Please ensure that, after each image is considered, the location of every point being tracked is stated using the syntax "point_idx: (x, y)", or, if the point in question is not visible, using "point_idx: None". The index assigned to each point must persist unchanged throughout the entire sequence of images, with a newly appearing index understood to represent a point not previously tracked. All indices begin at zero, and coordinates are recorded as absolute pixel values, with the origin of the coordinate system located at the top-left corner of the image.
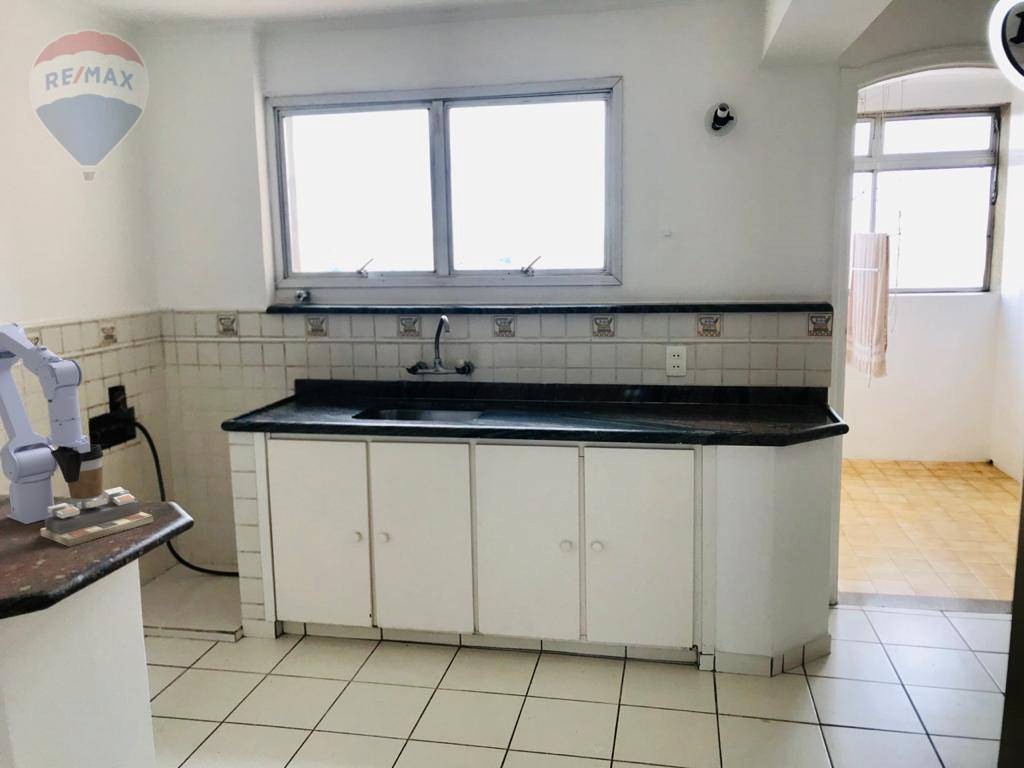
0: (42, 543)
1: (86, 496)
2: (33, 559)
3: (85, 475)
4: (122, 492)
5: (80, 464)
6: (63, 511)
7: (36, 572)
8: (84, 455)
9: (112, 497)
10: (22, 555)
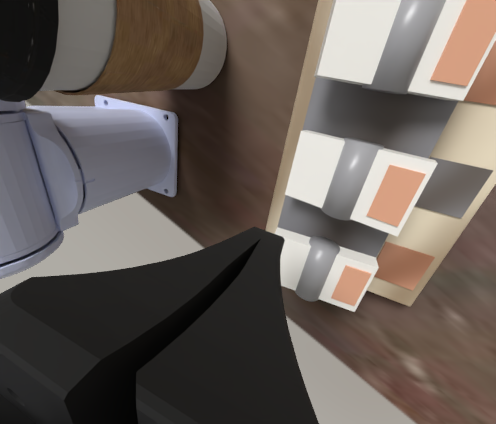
0: None
1: (192, 64)
2: (382, 354)
3: (134, 46)
4: (429, 14)
5: (283, 304)
6: (344, 298)
7: (458, 412)
8: (298, 376)
9: (402, 93)
10: (336, 335)
